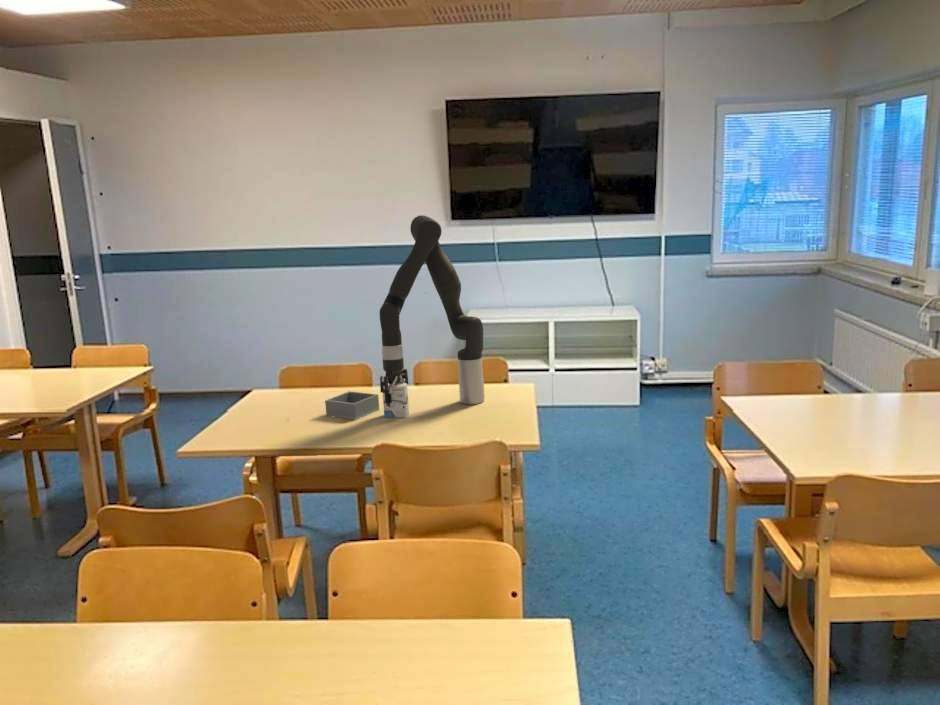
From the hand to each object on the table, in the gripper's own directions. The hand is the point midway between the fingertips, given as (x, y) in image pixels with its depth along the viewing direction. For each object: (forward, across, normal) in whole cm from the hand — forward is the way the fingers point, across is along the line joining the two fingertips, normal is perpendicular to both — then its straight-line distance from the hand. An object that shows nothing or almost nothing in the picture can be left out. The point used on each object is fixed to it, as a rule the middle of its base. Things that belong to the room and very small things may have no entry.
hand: (395, 400), depth 267 cm
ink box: (+6, +1, 0) cm, 6 cm away
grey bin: (+6, -2, +18) cm, 19 cm away
